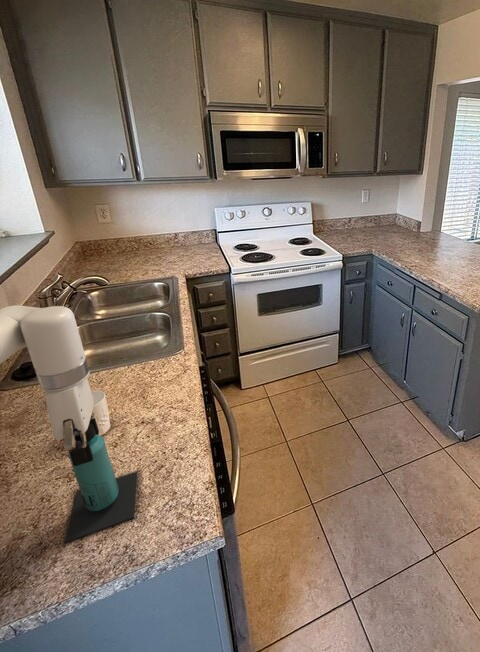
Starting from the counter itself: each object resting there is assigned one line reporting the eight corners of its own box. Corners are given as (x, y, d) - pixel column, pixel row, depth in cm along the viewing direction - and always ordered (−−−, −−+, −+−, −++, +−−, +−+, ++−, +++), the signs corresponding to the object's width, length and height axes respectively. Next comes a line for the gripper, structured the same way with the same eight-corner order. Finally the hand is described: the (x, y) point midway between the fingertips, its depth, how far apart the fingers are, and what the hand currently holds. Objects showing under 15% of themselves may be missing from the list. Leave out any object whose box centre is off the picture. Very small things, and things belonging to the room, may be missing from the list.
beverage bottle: (125, 487, 80) (106, 414, 73) (114, 515, 74) (91, 438, 67) (94, 492, 79) (71, 418, 72) (79, 521, 73) (53, 443, 66)
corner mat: (65, 543, 69) (64, 542, 69) (77, 492, 79) (77, 490, 79) (134, 518, 73) (133, 516, 73) (137, 472, 84) (137, 471, 84)
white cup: (76, 445, 92) (66, 413, 89) (82, 425, 99) (73, 395, 96) (111, 435, 95) (103, 404, 92) (114, 416, 102) (106, 387, 99)
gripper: (52, 354, 71) (74, 425, 77) (23, 407, 56) (53, 491, 62) (95, 345, 74) (113, 415, 80) (78, 394, 59) (102, 476, 65)
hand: (87, 448), depth 71 cm, fingers closed on beverage bottle, 6 cm apart
